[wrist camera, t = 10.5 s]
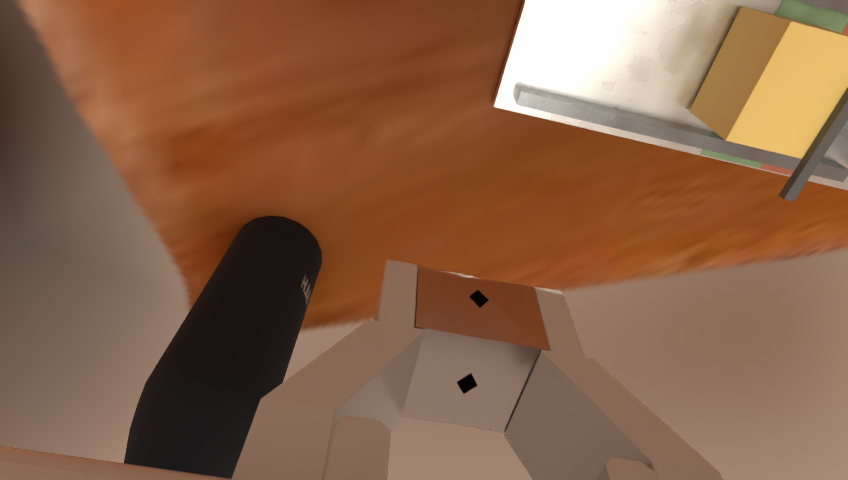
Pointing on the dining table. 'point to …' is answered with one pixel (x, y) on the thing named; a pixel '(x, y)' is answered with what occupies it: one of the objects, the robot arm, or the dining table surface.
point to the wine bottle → (227, 353)
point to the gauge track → (646, 71)
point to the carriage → (778, 89)
